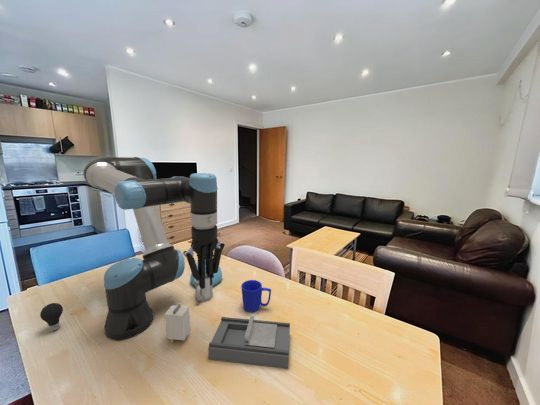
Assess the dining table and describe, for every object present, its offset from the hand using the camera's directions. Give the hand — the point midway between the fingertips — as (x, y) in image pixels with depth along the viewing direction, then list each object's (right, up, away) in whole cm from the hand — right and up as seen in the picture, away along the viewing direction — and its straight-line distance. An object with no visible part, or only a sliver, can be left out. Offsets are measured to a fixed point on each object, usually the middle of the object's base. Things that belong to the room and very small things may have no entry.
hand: (206, 295), depth 72 cm
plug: (-10, -16, +4) cm, 19 cm away
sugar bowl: (-11, -9, +39) cm, 42 cm away
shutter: (+18, -13, 0) cm, 22 cm away
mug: (+15, -13, +20) cm, 28 cm away
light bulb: (-55, -15, +7) cm, 57 cm away
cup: (-8, -12, +25) cm, 29 cm away
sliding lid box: (+15, -17, +1) cm, 22 cm away
